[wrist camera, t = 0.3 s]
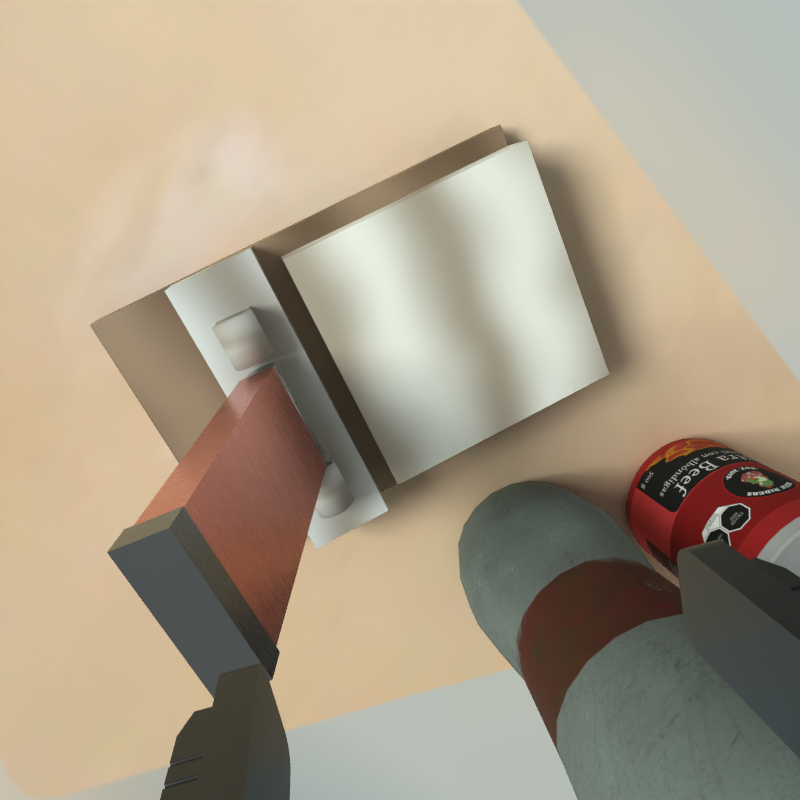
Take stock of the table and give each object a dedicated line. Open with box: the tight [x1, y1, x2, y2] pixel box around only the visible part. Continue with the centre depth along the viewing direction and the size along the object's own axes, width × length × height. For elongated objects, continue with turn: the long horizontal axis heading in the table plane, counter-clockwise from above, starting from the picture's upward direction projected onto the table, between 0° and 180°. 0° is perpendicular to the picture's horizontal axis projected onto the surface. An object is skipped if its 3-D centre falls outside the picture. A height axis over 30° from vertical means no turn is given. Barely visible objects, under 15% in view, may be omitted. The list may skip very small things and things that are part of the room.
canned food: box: [627, 439, 800, 579], centre depth 35 cm, size 8×8×11 cm
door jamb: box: [90, 125, 609, 549], centre depth 31 cm, size 21×14×6 cm, turn 115°
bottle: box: [459, 481, 800, 800], centre depth 25 cm, size 9×9×30 cm
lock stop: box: [107, 362, 327, 698], centre depth 23 cm, size 2×5×14 cm, turn 24°
